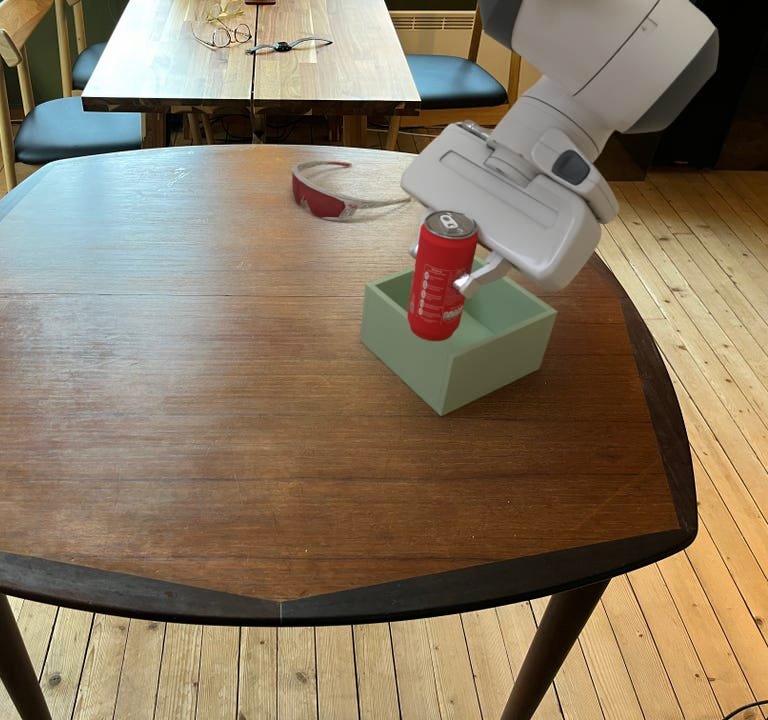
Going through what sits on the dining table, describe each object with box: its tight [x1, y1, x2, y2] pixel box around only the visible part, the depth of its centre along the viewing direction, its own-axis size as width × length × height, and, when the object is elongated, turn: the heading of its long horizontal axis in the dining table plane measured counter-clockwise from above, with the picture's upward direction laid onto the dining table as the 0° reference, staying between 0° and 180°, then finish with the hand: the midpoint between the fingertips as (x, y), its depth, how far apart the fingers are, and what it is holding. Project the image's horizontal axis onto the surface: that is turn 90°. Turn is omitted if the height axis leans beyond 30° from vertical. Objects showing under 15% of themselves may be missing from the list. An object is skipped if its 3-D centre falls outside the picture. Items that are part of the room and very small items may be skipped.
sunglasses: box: [291, 160, 412, 221], centre depth 119 cm, size 17×17×5 cm
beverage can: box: [407, 210, 478, 341], centre depth 70 cm, size 5×5×12 cm
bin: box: [359, 254, 558, 417], centre depth 88 cm, size 16×16×9 cm
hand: (437, 275), depth 69 cm, fingers closed on beverage can, 5 cm apart
